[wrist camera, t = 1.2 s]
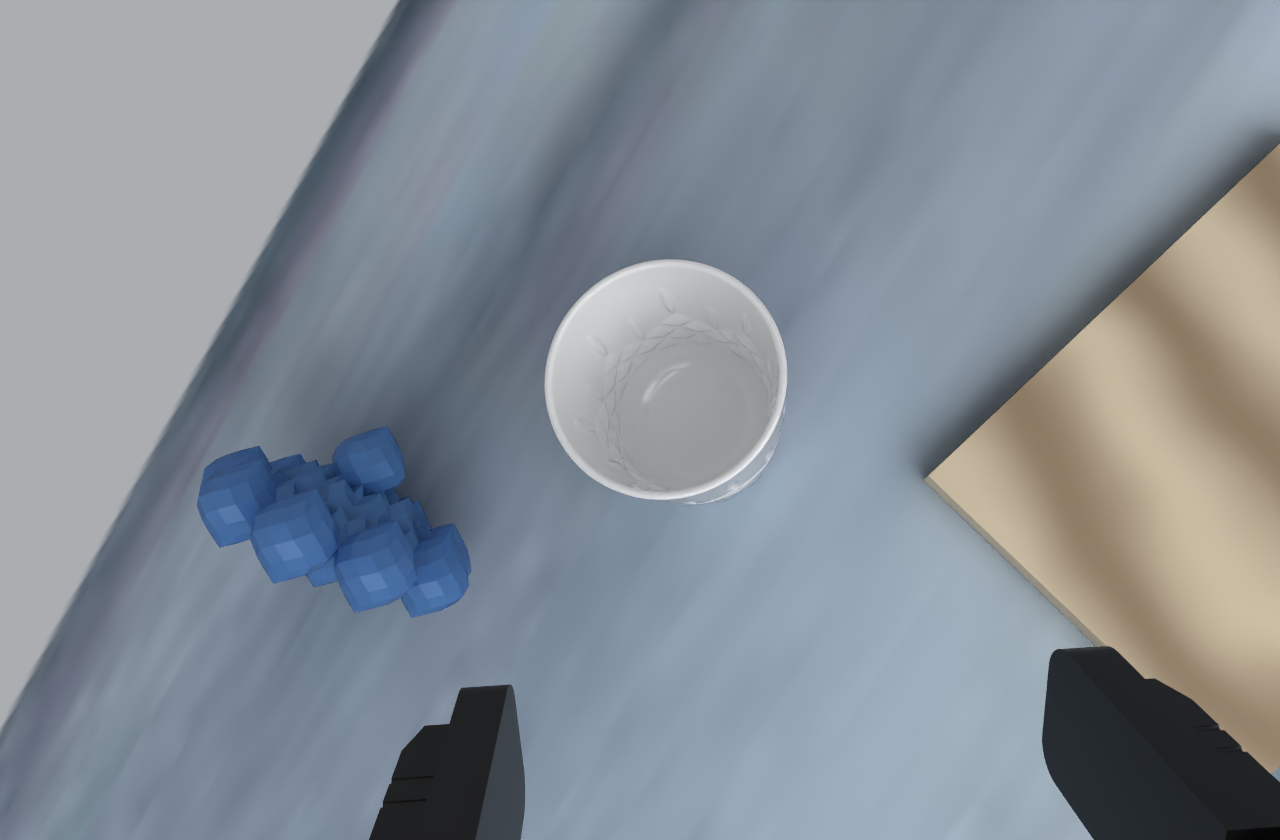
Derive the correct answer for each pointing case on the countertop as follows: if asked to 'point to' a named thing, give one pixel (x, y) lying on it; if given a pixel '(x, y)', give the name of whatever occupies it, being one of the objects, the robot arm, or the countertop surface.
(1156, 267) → the oak board
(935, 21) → the countertop surface
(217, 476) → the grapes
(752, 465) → the white cup
